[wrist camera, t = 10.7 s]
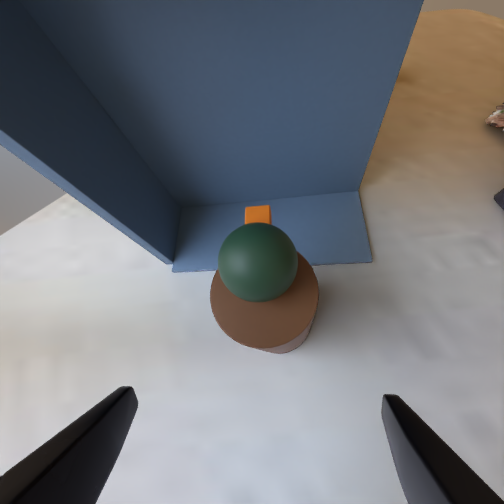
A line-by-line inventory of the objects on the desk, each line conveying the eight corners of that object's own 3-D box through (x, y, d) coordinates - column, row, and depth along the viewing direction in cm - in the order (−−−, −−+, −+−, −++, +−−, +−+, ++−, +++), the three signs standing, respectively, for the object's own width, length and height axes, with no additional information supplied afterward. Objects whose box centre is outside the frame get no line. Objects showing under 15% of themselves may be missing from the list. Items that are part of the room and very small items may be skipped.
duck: (313, 353, 21) (334, 344, 8) (244, 353, 22) (172, 343, 9) (306, 272, 24) (315, 177, 11) (246, 275, 25) (193, 190, 12)
